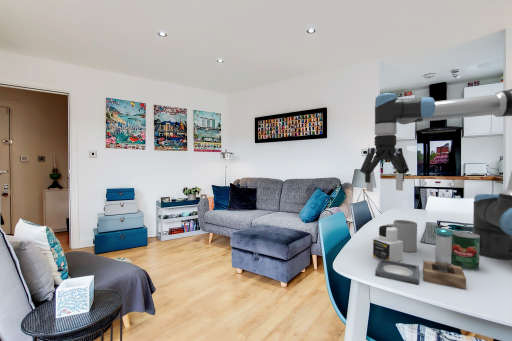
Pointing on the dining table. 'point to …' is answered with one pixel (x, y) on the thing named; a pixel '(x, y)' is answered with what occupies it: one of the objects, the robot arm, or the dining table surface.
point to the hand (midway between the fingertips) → (384, 190)
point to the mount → (444, 275)
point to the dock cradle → (398, 271)
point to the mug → (406, 234)
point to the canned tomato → (465, 250)
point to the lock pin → (443, 249)
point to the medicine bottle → (388, 244)
